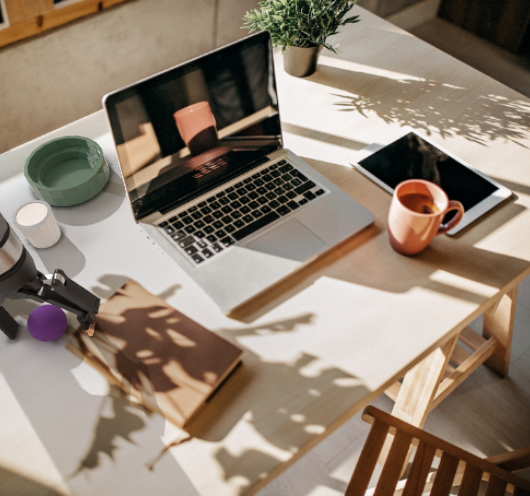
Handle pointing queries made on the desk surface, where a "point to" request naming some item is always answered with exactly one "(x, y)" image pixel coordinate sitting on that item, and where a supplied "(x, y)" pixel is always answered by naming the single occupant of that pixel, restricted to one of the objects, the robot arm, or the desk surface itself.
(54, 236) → the white cylinder
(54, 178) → the bowl
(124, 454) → the desk surface
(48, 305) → the ball
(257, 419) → the desk surface
